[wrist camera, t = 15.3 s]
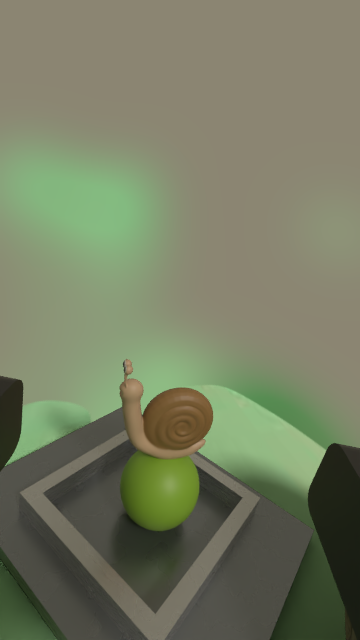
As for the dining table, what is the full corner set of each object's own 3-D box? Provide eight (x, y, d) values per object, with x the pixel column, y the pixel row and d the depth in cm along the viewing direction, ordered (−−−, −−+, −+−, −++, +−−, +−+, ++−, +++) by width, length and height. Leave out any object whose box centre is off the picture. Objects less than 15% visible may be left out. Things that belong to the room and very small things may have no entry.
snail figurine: (100, 484, 25) (120, 342, 21) (181, 481, 27) (213, 348, 23) (101, 557, 20) (127, 389, 16) (200, 546, 22) (245, 392, 18)
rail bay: (-41, 501, 23) (-42, 473, 22) (125, 412, 36) (128, 392, 35) (191, 828, 13) (205, 799, 12) (309, 539, 25) (320, 515, 24)
